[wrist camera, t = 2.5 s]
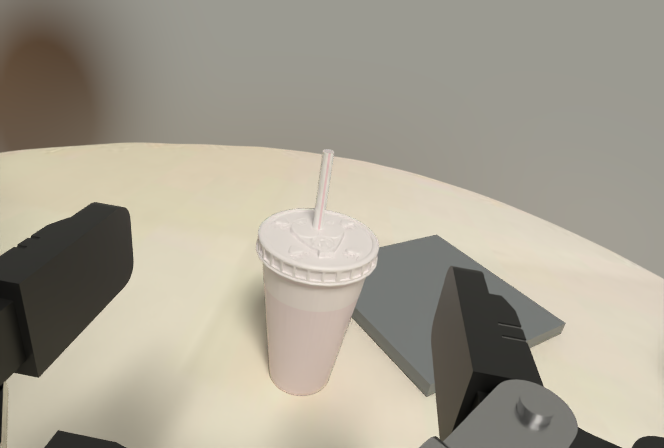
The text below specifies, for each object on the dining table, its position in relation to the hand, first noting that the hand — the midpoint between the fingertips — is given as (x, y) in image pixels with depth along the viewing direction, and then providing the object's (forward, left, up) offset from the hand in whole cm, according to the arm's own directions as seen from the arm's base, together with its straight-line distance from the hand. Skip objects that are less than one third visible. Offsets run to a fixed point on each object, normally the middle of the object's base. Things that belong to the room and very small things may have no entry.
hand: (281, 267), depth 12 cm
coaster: (-11, +20, -15) cm, 27 cm away
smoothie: (-9, +7, -15) cm, 19 cm away
